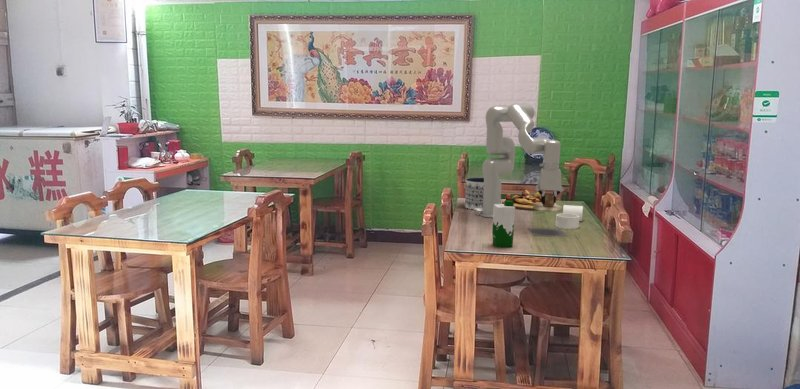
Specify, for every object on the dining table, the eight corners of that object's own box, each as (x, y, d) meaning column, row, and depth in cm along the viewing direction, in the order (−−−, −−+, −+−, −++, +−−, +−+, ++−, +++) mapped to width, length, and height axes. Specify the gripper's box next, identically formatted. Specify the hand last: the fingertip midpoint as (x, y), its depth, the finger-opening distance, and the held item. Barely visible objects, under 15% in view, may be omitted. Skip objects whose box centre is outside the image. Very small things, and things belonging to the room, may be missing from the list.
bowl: (558, 229, 312) (559, 217, 311) (553, 224, 322) (554, 213, 321) (581, 229, 312) (581, 217, 311) (574, 224, 323) (575, 213, 322)
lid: (536, 211, 296) (537, 196, 294) (530, 205, 309) (531, 191, 308) (566, 212, 296) (567, 197, 295) (558, 205, 310) (559, 191, 308)
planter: (497, 211, 356) (499, 182, 353) (465, 210, 356) (466, 181, 354) (494, 205, 373) (495, 177, 371) (464, 204, 374) (464, 177, 372)
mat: (534, 236, 296) (534, 235, 296) (527, 229, 312) (527, 228, 312) (568, 236, 296) (568, 236, 296) (559, 229, 312) (559, 228, 312)
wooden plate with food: (505, 210, 360) (506, 196, 358) (499, 200, 391) (500, 186, 390) (561, 212, 358) (562, 198, 357) (551, 202, 390) (552, 189, 388)
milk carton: (515, 247, 275) (517, 202, 272) (494, 247, 275) (496, 202, 271) (509, 242, 284) (511, 199, 281) (490, 242, 283) (491, 199, 280)
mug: (582, 222, 329) (582, 207, 327) (562, 221, 332) (563, 206, 330) (582, 218, 340) (583, 203, 339) (563, 216, 343) (564, 202, 342)
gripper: (534, 167, 295) (532, 205, 299) (570, 168, 295) (567, 206, 299) (531, 164, 302) (529, 202, 306) (566, 165, 303) (563, 202, 306)
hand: (548, 203), depth 302 cm, fingers closed on lid, 4 cm apart
